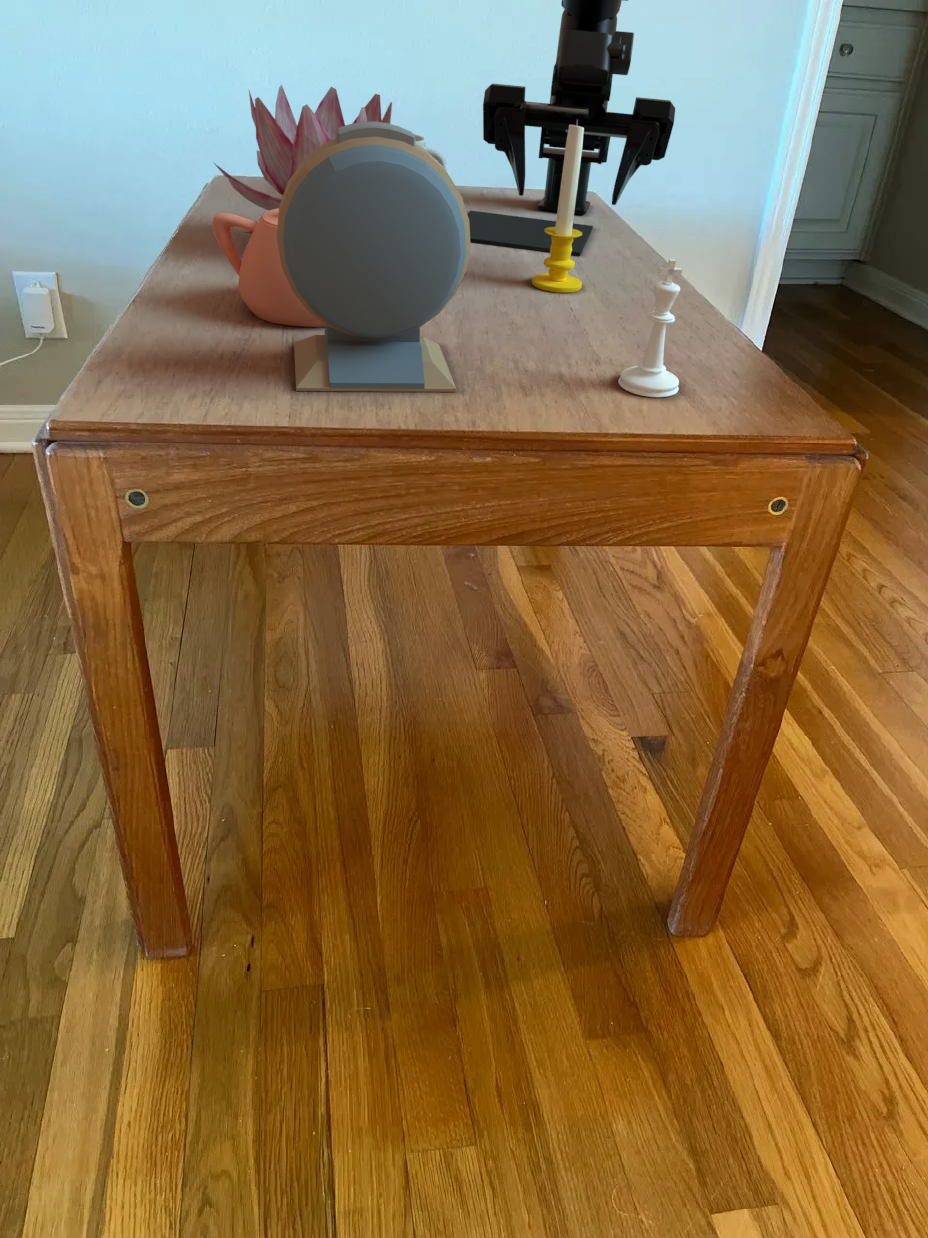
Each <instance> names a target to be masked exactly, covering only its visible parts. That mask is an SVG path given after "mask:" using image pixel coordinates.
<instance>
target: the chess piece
mask: <svg viewBox="0 0 928 1238" xmlns="http://www.w3.org/2000/svg"><path fill="white" fill-rule="evenodd" d="M676 263H677V260H676V259H675V258H669V259H668V262H667V267H666V266H659V267H658V272H657V273H658V275H660V276H661V275H663V276H665V277H664V280H662V281H657V282H656V283H654V285H653V291H654V298H655V300H654V302H655V303H654V304H655V310H653V311H652V310H651V311H650V312H649V313H648V315H647V319H648V320H649V321H652V322H653V325H652V330H651V332H650V336H649V339H648V343H647V345H646V348H645V352H644V355H643V358H642V360H641V361H639V362H638V363H637V365H635V366H630V367H627V368H625V369H623V370H622V371H621V372H620V375H619V376H620V377H619V378H618V380H617V382H618V385H619V386H620V387H621V389H623V390H624V391H626V392H629V393H631V394H634V395H638V396H643V397H649V398H666V397H673V396H674V395H676V394H677V393H678V392H679V389H680V388H679V385H680V380H679V378H678V377H677V376H676V375H675V374H673V373H672V372H671V371H668V370H667V367H666V366H665V364H664V352H665V341H666V340H665V339H666V329H667V324H672V323H675V321H676V319H675V318H676V317H675V315H674V314H672V313H671V312H670V310H671V308H672V307H673V305H674V302H675V301H676V299H677V297H678V295H679V294H680V291H681V287H680V285H678V284H677V283H675V282H673V278H674V276H682V273H683V269H682V268H681V267H676Z"/></svg>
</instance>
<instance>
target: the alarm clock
mask: <svg viewBox="0 0 928 1238" xmlns="http://www.w3.org/2000/svg"><path fill="white" fill-rule="evenodd" d="M352 123H353V122H352ZM352 123H348V124H345V126H342V127H339V128H337V129H336V139H333V140H331V141H328V142H326V143H324V144H323V145H321V146H320V147H319V148H318V149H316V150H315V151H314V152H313V153H311V154H310V155H309V156H307V157H306V158H305V159H304V160H303V161H302V163H301V164H300V165H299V167H298V168H297V170H296V171H295V172H294V174H293V175H292V177H291V178H290V179H289V181H288V183H287V186H286V189H285V191H284V194H283V196H282V197H281V199H282V200H281V202H280V205H279V214H278V225H277V244H278V250H279V256H280V262H281V267H282V269H283V272H284V274H285V276H286V278H287V281H288V283H289V285H290V287H291V290H292V291H293V293H294V294H295V295H296V296H297V298H298V299H299V300H300V301H301V303H302V304H303V305H304V307H305V308H306V309H307V310H308V311H309V312H310V313H311V314H313V315H314V316H315V317H317V318H318V319H319V320H321V321H322V322H323V323H324V324H326V327H324V334H313V335H311V336H308V337H305V338H303V339H300V340H298V341H295V342H293V348H294V349H293V350H294V352H293V353H294V371H295V373H294V374H295V375H294V376H295V391H296V392H413V393H414V392H416V393H417V392H420V393H421V392H422V393H423V392H429V393H430V392H431V393H434V392H436V393H443V392H444V393H456V392H457V387H456V384H455V382H454V380H453V377H452V374H451V372H450V371H451V370H450V369H449V366H448V364H447V362H446V359H445V355H444V354H443V351H442V349H441V346H440V344H438V343H436V342H434V341H433V340H431V339H430V338H429V339H428V338H427V337H425V336H421V327H423V326H424V325H425V324H427V323H428V322H430V321H431V320H432V319H434V318H435V317H436V316H438V315H440V313H441V312H442V311H443V310H444V308H445V307H446V306H447V305H448V304H449V303H450V301H451V300H452V299H453V298H454V296H455V295H456V293H457V291H458V289H459V287H460V285H461V283H462V281H463V278H464V276H465V274H466V272H467V267H468V263H469V258H470V252H471V247H472V246H471V244H472V243H471V242H470V225H469V218H468V215H467V214H468V212H467V210H466V206H465V202H464V199H463V195H462V194H461V192H460V191H459V189H458V187H457V185H456V184H455V182H454V181H453V179H452V178H451V175H449V173H448V172H447V169H446V170H445V169H444V167H443V166H442V165H441V164H440V163H439V162H438V161H437V160H436V159H435V158H433V157H432V156H431V155H430V154H429V153H428V152H427V151H426V150H425V149H424V148H422V147H420V146H418V145H416V137H415V136H414V134H415V133H413V132H412V131H411V130H408V129H406V128H403V127H401V126H398V125H395V124H392V123H390V124H388V123H383V122H375V121H373V122H359V123H353V124H352Z"/></svg>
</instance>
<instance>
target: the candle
mask: <svg viewBox="0 0 928 1238" xmlns="http://www.w3.org/2000/svg"><path fill="white" fill-rule="evenodd" d="M577 124H578V119H577V122H576V126H575V125H569V129H568V135H567V141H566V148H564V149H565V156H564V164H563V172H562V180H561V188H560V195H559V203H558V211H556V219H555V221H556V227H548V228H545V229H544V232H546V233H547V234H549V235H551V236H552V238H551V240H552V244H551V246H550V252H549V253H550V256H548V257H545V258H544V260H543V265H544V266H545V267H546V268H548V271H547V272H543V273H538V274H535V275H533V276H532V278H531V283H532V284H531V285H533V287H535V288H536V289H538V290H542V291H545V292H550V293H558V294H569V293H575V292H578V291H580V290H581V289H582V286H583V282H582V280H581V279H579V278H578V277H576V276H573V275H570V274H569V272H568V271H569V270H572V269H574V268H575V265H576V262H575V261H574V260H572V259H571V256H572V255H571V252H572V243H573V238H576V237H579V236H582V232H581V231H579V230H576V229H572V227H573V223H574V219H575V218H574V217H575V213H574V211H575V203H576V195H577V186H578V178H579V170H580V162H581V154H582V151H583V150H582V145H583V134H584V128H583V127H580V126H577Z"/></svg>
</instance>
